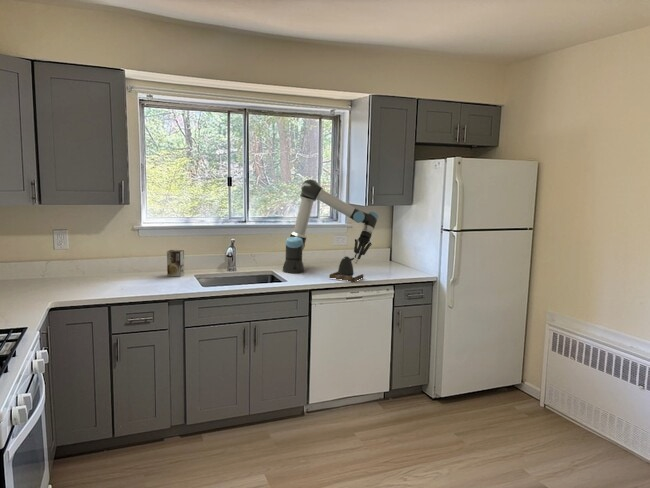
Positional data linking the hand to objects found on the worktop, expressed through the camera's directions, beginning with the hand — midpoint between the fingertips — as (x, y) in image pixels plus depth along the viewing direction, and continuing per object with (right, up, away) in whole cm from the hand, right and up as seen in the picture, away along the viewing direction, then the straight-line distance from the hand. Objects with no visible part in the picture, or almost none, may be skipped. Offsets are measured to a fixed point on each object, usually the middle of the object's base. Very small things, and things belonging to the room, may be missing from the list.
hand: (355, 262), depth 332 cm
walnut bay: (-7, -10, -16) cm, 20 cm away
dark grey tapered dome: (-7, -10, -17) cm, 21 cm away
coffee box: (-117, -7, -24) cm, 119 cm away
